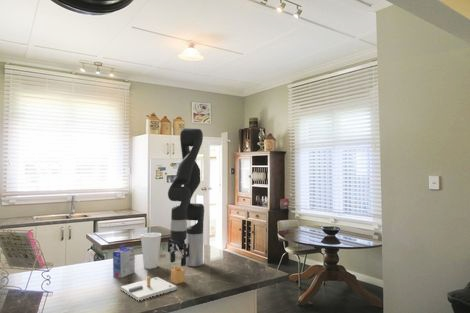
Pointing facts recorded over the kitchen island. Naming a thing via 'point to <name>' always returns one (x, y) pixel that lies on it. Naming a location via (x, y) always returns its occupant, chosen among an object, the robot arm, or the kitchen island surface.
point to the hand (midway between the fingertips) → (178, 263)
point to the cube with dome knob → (177, 275)
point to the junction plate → (148, 288)
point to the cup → (150, 249)
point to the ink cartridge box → (123, 262)
